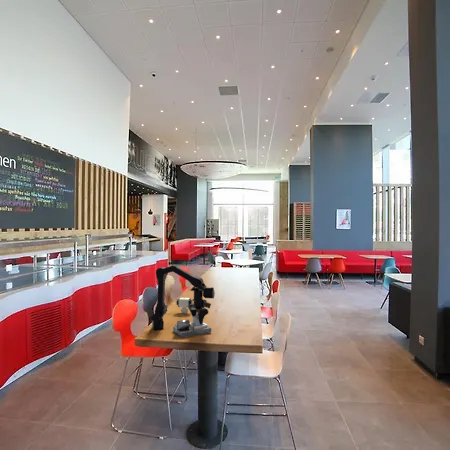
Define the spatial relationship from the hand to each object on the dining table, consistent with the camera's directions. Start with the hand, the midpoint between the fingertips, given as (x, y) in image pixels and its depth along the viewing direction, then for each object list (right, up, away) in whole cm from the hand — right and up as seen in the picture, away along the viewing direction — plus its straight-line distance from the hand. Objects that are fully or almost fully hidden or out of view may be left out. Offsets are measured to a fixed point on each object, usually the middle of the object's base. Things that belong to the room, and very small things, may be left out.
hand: (197, 322), depth 198 cm
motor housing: (-3, -5, -2) cm, 7 cm away
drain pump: (0, -3, 0) cm, 3 cm away
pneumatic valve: (-14, -6, +43) cm, 46 cm away
